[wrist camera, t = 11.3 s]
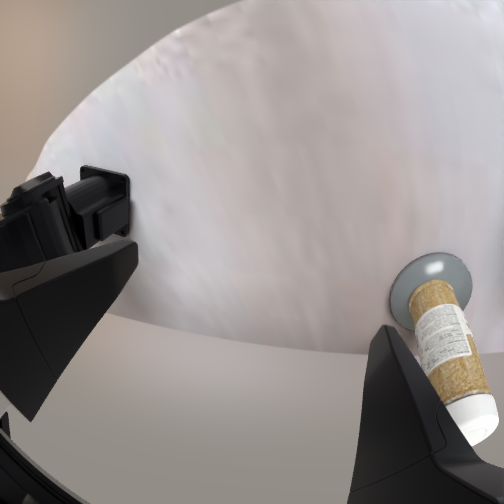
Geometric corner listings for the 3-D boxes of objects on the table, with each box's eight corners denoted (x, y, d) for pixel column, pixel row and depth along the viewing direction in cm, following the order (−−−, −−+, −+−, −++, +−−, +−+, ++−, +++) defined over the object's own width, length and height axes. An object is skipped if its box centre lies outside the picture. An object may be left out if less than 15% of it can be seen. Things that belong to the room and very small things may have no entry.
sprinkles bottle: (453, 311, 20) (488, 443, 9) (408, 323, 22) (424, 462, 11) (453, 270, 19) (509, 411, 7) (404, 283, 21) (432, 436, 9)
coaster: (375, 314, 24) (375, 320, 23) (415, 239, 19) (418, 244, 19) (440, 333, 23) (442, 338, 22) (483, 268, 18) (486, 273, 18)
